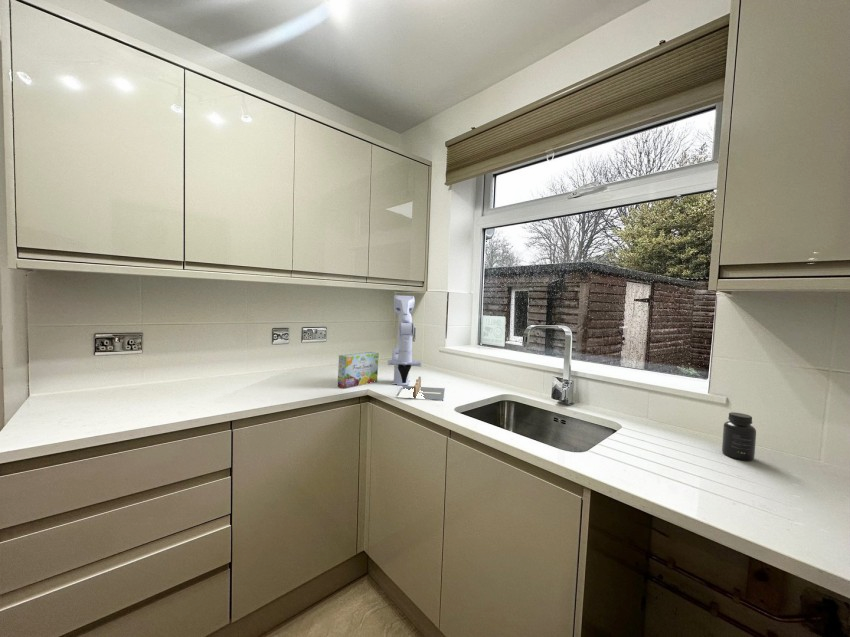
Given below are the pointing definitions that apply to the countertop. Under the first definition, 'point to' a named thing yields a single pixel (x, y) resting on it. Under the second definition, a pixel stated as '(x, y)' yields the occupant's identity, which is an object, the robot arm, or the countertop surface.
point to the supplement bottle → (739, 437)
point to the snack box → (357, 369)
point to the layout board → (428, 391)
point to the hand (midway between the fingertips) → (404, 382)
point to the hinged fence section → (415, 389)
